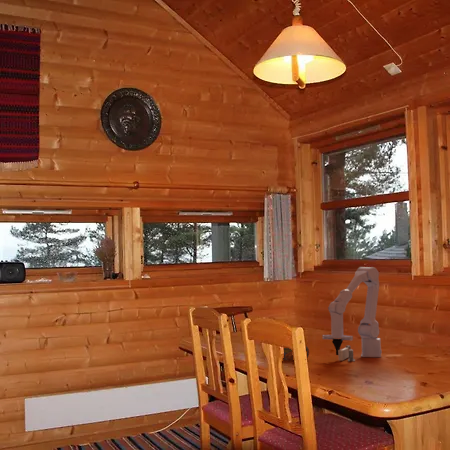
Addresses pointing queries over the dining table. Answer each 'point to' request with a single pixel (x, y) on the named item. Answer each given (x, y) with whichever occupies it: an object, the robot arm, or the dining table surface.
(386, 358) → the dining table surface
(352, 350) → the latch block
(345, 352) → the lipped cream column
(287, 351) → the tin
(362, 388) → the dining table surface
